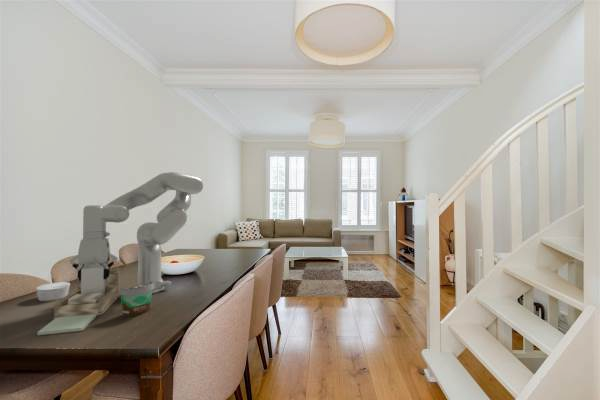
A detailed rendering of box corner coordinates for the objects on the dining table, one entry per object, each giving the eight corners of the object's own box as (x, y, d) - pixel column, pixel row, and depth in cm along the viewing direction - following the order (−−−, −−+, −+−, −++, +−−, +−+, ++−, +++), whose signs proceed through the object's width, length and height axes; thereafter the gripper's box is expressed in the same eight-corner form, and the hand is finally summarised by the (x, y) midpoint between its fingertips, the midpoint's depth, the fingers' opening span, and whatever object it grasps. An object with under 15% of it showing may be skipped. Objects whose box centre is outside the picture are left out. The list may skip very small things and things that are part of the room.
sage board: (95, 316, 102) (95, 313, 102) (81, 330, 91) (81, 327, 91) (56, 320, 99) (56, 317, 99) (37, 335, 88) (37, 332, 88)
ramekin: (49, 303, 115) (50, 290, 115) (28, 301, 117) (28, 288, 117) (76, 294, 126) (76, 282, 126) (56, 292, 128) (56, 281, 128)
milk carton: (80, 308, 110) (81, 259, 110) (84, 302, 117) (85, 255, 117) (102, 305, 114) (103, 257, 114) (105, 299, 120) (105, 254, 120)
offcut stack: (103, 307, 112) (103, 292, 112) (96, 313, 106) (96, 297, 106) (72, 309, 109) (73, 294, 109) (64, 316, 103) (64, 299, 103)
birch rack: (118, 297, 123) (118, 269, 123) (101, 314, 104) (102, 281, 104) (78, 300, 118) (79, 271, 118) (54, 319, 100) (54, 284, 100)
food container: (127, 319, 100) (127, 291, 100) (118, 316, 103) (118, 288, 103) (160, 308, 110) (160, 283, 110) (151, 305, 114) (151, 280, 114)
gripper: (121, 234, 121) (121, 275, 121) (73, 235, 116) (72, 278, 116) (116, 236, 114) (115, 280, 114) (64, 237, 109) (63, 283, 109)
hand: (93, 278), depth 115 cm, fingers closed on milk carton, 7 cm apart
